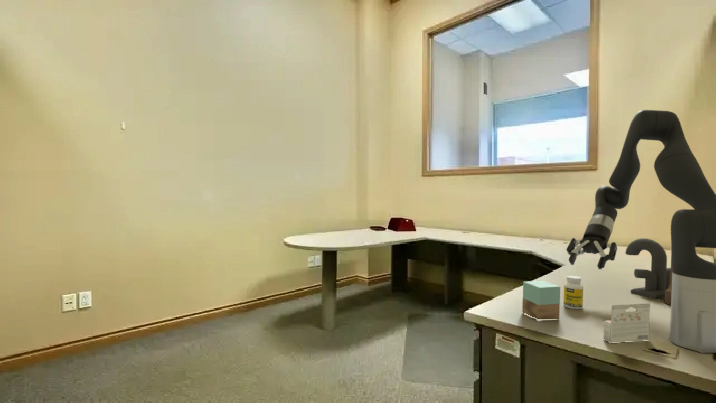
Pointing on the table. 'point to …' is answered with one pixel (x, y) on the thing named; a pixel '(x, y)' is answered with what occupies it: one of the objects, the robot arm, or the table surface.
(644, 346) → the table surface
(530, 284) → the tower top block
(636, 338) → the ink cartridge box
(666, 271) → the faucet
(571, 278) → the supplement bottle
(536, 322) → the table surface
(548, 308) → the tower bottom block
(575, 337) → the table surface
